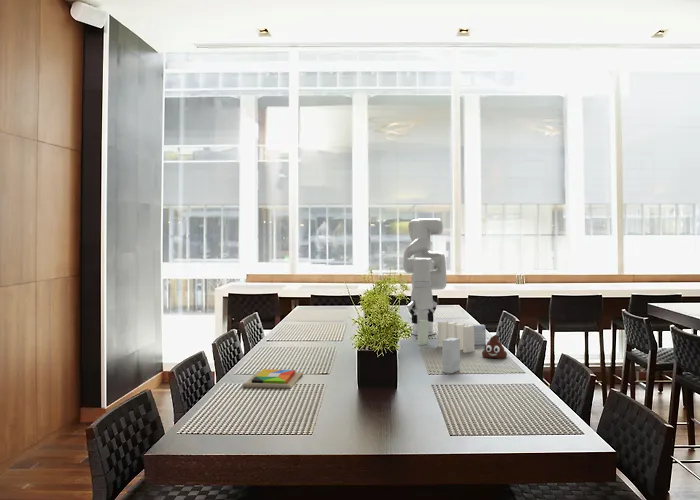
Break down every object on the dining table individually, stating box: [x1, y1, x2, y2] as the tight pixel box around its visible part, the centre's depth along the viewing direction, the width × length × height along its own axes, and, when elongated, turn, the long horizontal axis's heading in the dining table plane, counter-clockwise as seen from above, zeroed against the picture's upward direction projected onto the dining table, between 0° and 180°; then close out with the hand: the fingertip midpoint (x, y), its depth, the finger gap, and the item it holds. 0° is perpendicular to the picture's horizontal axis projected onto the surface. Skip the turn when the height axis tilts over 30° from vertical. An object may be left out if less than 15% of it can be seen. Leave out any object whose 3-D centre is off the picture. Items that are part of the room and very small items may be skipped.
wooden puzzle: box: [241, 368, 304, 389], centre depth 210 cm, size 18×19×4 cm
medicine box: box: [466, 324, 487, 346], centre depth 267 cm, size 8×4×9 cm, turn 84°
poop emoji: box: [481, 334, 508, 360], centre depth 240 cm, size 10×8×9 cm
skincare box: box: [441, 338, 461, 374], centre depth 218 cm, size 6×4×12 cm
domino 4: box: [454, 323, 466, 351], centre depth 256 cm, size 2×5×11 cm, turn 124°
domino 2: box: [437, 320, 449, 348], centre depth 264 cm, size 2×5×11 cm, turn 124°
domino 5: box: [462, 324, 475, 353], centre depth 251 cm, size 2×5×11 cm, turn 125°
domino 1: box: [417, 320, 429, 346], centre depth 270 cm, size 2×5×11 cm, turn 125°
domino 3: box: [446, 321, 458, 339], centre depth 260 cm, size 2×5×11 cm, turn 125°
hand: (422, 322), depth 269 cm, fingers open, 9 cm apart
